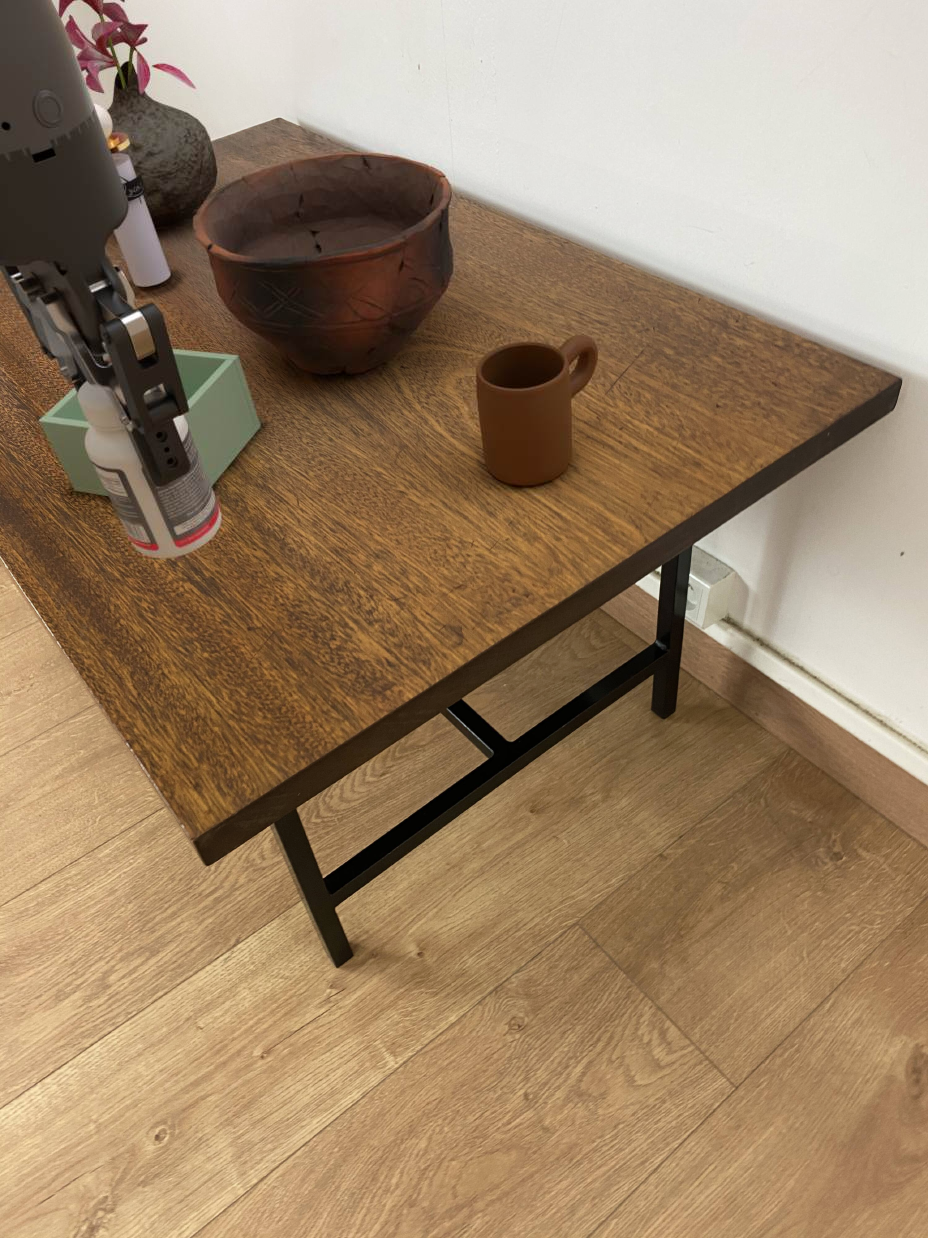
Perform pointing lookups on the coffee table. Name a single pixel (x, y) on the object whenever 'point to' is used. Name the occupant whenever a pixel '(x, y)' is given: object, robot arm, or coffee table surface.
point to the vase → (148, 119)
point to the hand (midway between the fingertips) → (144, 453)
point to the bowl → (331, 255)
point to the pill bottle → (149, 485)
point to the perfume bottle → (134, 215)
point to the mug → (531, 406)
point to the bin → (213, 417)
